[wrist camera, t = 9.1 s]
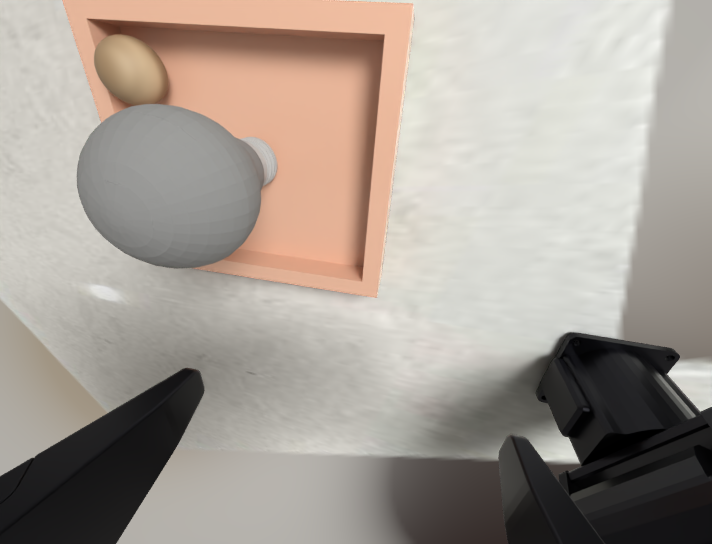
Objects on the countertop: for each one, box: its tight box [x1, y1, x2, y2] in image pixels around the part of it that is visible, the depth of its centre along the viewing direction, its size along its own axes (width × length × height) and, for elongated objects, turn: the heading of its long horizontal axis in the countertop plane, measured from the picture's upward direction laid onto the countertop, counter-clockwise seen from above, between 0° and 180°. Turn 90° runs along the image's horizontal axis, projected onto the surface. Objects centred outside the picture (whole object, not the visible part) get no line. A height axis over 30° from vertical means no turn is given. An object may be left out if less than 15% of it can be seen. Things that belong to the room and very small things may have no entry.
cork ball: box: [94, 34, 168, 106], centre depth 15 cm, size 3×3×3 cm
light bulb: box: [77, 104, 277, 268], centre depth 14 cm, size 6×6×10 cm
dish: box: [62, 0, 414, 298], centre depth 17 cm, size 16×14×2 cm
